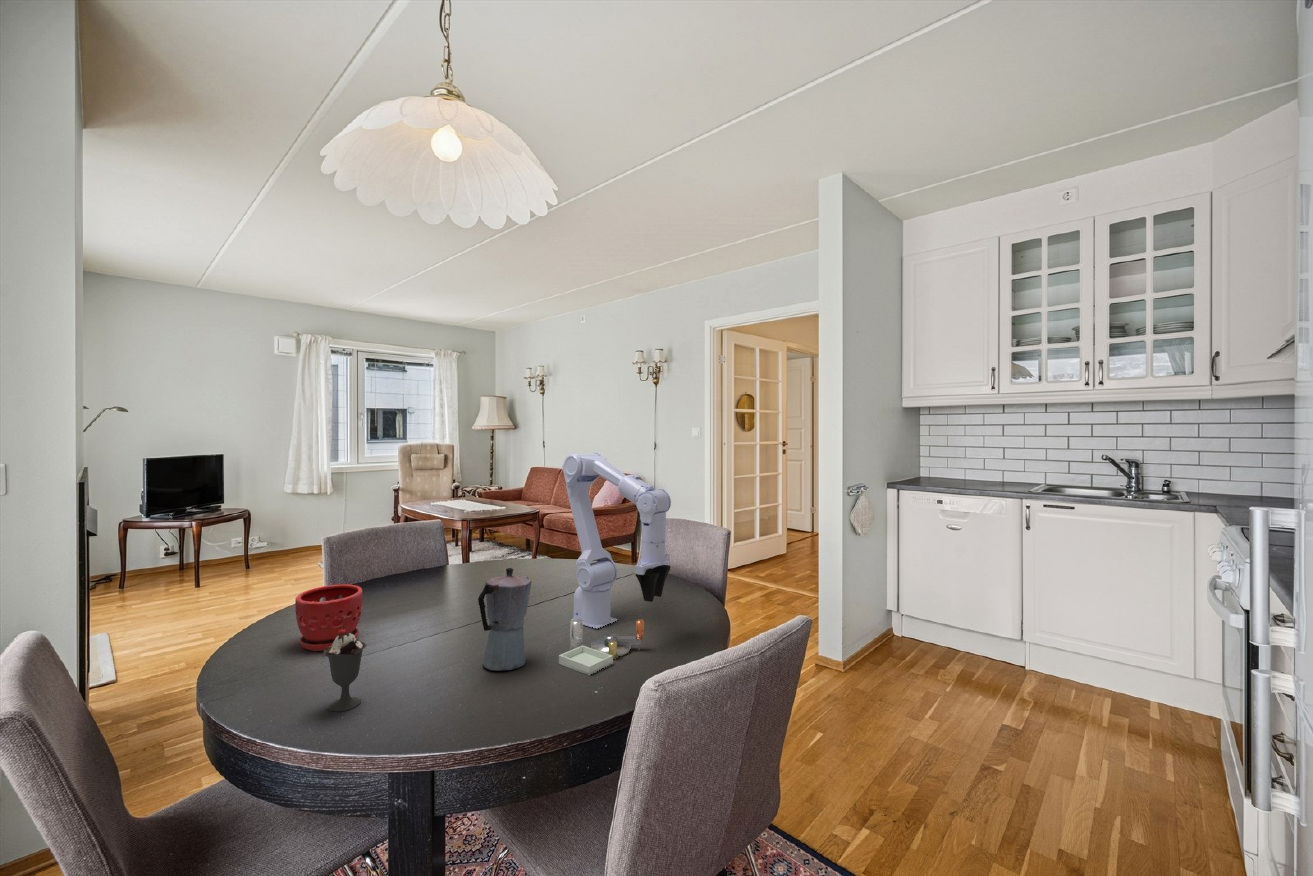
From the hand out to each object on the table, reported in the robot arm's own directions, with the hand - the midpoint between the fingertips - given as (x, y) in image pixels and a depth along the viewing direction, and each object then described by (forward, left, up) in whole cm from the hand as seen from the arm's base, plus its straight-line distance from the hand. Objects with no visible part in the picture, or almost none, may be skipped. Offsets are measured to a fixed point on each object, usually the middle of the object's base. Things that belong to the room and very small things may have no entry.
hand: (652, 598), depth 127 cm
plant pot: (-56, -48, -10) cm, 75 cm away
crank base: (-4, -10, -10) cm, 15 cm away
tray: (-3, -19, -10) cm, 22 cm away
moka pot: (-16, -30, -10) cm, 36 cm away
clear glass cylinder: (-10, -15, -10) cm, 21 cm away
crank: (-1, -9, -8) cm, 12 cm away
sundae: (-24, -58, -10) cm, 64 cm away
